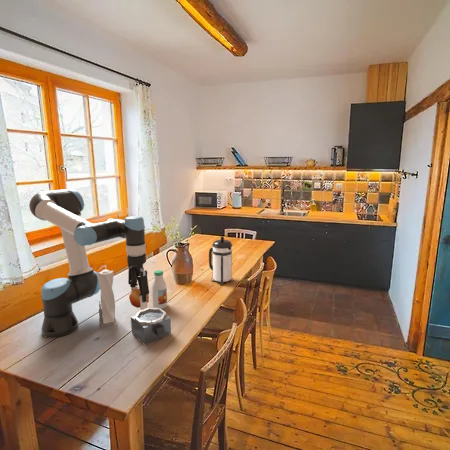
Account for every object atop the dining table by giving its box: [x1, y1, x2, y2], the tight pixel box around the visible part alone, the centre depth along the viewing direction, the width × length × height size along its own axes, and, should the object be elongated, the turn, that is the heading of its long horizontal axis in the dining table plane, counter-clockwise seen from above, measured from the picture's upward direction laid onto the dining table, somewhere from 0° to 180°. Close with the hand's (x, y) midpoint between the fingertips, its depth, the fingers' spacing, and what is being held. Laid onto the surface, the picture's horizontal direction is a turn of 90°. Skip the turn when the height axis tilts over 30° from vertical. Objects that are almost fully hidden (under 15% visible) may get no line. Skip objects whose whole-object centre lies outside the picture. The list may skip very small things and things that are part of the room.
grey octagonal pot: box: [130, 307, 172, 345], centre depth 142 cm, size 13×15×9 cm
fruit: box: [128, 288, 150, 308], centre depth 134 cm, size 8×8×8 cm
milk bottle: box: [151, 269, 168, 310], centre depth 168 cm, size 8×8×20 cm
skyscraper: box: [96, 264, 116, 327], centre depth 152 cm, size 8×8×28 cm
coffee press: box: [208, 236, 234, 286], centre depth 203 cm, size 17×16×30 cm
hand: (139, 304), depth 134 cm, fingers closed on fruit, 8 cm apart
